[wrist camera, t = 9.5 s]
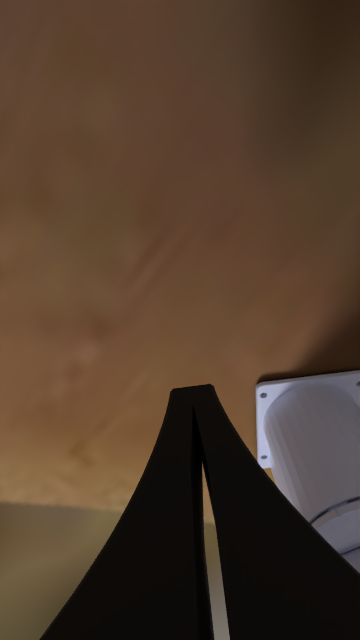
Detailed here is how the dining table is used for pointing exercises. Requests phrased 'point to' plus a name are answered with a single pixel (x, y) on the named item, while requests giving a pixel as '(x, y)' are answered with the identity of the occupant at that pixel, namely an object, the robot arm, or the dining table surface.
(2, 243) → the dining table surface
